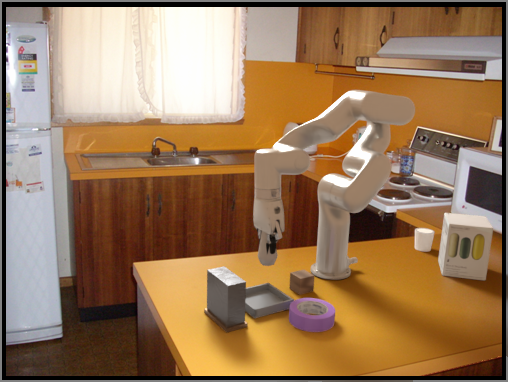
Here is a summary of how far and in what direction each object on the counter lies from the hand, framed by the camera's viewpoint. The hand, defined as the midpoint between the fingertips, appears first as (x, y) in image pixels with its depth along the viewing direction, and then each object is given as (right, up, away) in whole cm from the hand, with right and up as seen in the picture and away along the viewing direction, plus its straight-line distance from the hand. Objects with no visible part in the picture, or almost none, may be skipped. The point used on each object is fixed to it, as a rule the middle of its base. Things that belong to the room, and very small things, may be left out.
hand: (267, 252), depth 152 cm
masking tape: (+11, -16, -18) cm, 26 cm away
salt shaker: (0, -3, +1) cm, 4 cm away
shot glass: (+57, -3, +36) cm, 68 cm away
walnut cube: (+10, -11, 0) cm, 15 cm away
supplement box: (+63, -8, +17) cm, 66 cm away
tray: (-2, -13, -10) cm, 16 cm away
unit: (-11, -15, -19) cm, 27 cm away
